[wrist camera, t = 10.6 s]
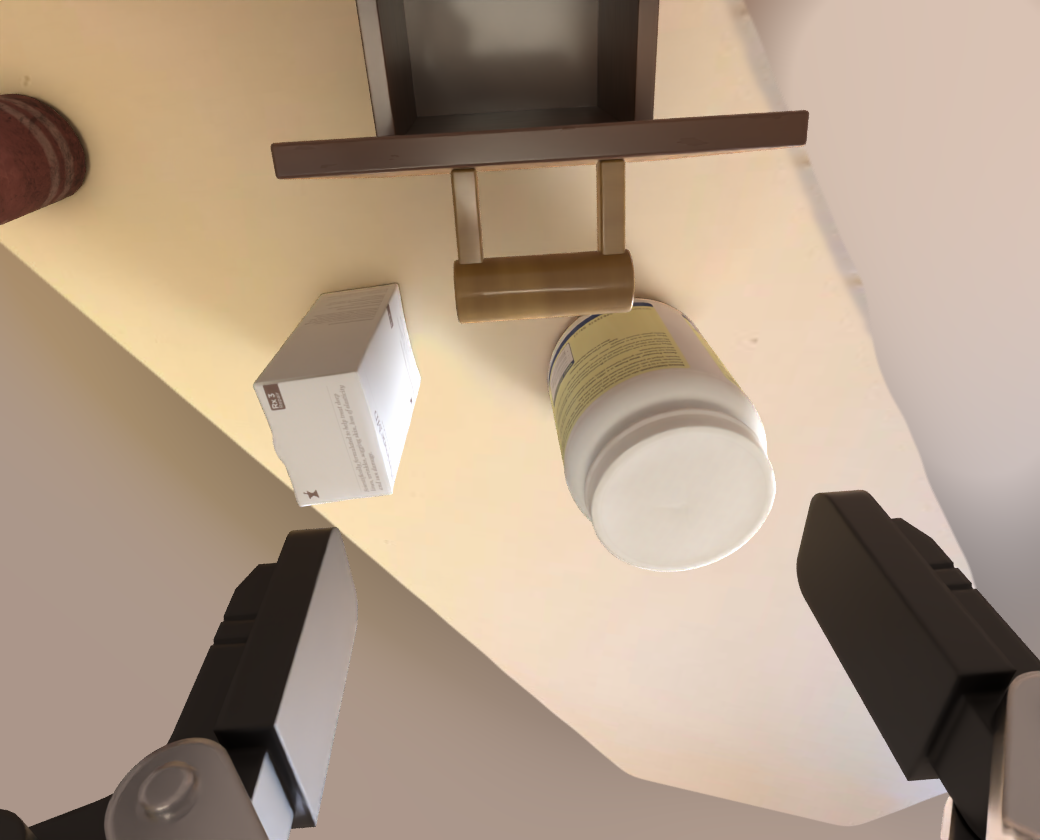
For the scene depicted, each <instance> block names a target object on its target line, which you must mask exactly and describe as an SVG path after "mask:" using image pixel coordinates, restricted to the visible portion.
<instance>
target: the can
mask: <svg viewBox="0 0 1040 840" xmlns="http://www.w3.org/2000/svg"><path fill="white" fill-rule="evenodd" d="M85 172H86V166H85V154H84V152H83V149H82V147H81V144H80V141H79V139H78V137H77V135H76V134H75V133H74V131H73V130H72V128H71V127H70V126H69V124H68V123H67V121H65V120H64V119H63V118H62V117H61V116H60V115H59V114H58V113H57V112H55V111H54V110H53V109H52V108H51V107H49V106H47V105H45V104H43V103H42V102H40V101H38V100H36V99H34V98H31V97H27V96H23V95H19V94H5V95H0V225H2V224H5V223H7V222H9V221H12V220H14V219H17V218H19V217H21V216H24V215H26V214H29V213H31V212H33V211H36V210H38V209H41V208H43V207H45V206H48V205H50V204H53V203H55V202H58V201H60V200H62V199H64V198H66V197H69V196H71V195H73V194H74V193H75V192H76V191H77V189H78V188H79V187H80V186H81V185H82V182H83V179H84V175H85Z"/></svg>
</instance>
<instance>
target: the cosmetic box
mask: <svg viewBox="0 0 1040 840" xmlns="http://www.w3.org/2000/svg"><path fill="white" fill-rule="evenodd" d="M420 380H421V378H420V375H419V371H418V369H417V366H416V363H415V359H414V355H413V352H412V348H411V344H410V340H409V336H408V332H407V327H406V323H405V318H404V313H403V308H402V303H401V296H400V291H399V286H398V284H389V285H382V286H375V287H368V288H361V289H354V290H346V291H339V292H332V293H325V294H321V295H320V296H319V298H318V299H317V300H316V302H315V303H314V304H313V306H312V307H311V308H310V310H309V311H308V312H307V314H306V315H305V316H304V317H303V319H302V320H301V322H300V323H299V324H298V326H297V327H296V328H295V330H294V331H293V332H292V334H291V335H290V336H289V337H288V339H287V340H286V341H285V343H284V344H283V345H282V347H281V348H280V350H279V351H278V352H277V354H276V355H275V356H274V357H273V359H272V360H271V361H270V363H269V364H268V365H267V367H266V368H265V369H264V371H263V372H262V373H261V375H260V376H259V377H258V378H257V380H256V381H255V382H254V384H253V387H254V390H255V392H256V394H257V397H258V399H259V402H260V404H261V406H262V409H263V411H264V414H265V416H266V419H267V421H268V424H269V426H270V429H271V431H272V435H273V445H274V449H275V451H276V454H277V456H278V457H279V459H280V460H281V461H282V462H283V463H284V465H285V467H286V469H287V472H288V475H289V477H290V480H291V483H292V486H293V489H294V493H295V497H296V500H297V503H298V505H299V506H301V507H303V506H309V505H314V504H323V503H329V502H336V501H343V500H349V499H356V498H365V497H375V496H383V495H390V494H392V492H393V491H392V490H393V486H394V482H395V478H396V474H397V470H398V466H399V462H400V458H401V454H402V451H403V447H404V443H405V439H406V436H407V432H408V428H409V425H410V421H411V417H412V413H413V409H414V405H415V401H416V397H417V394H418V390H419V386H420Z"/></svg>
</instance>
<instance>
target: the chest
mask: <svg viewBox="0 0 1040 840" xmlns="http://www.w3.org/2000/svg"><path fill="white" fill-rule="evenodd" d="M356 7H357V13H358V20H359V26H360V33H361V39H362V46H363V52H364V59H365V65H366V71H367V78H368V84H369V91H370V97H371V104H372V110H373V117H374V123H375V130H376V136H377V137H379V136H395V135H411V134H428V133H444V132H460V131H476V130H492V129H509V128H525V127H541V126H557V125H573V124H589V123H606V122H622V121H638V120H653V110H654V91H655V73H656V54H657V35H658V16H659V0H356Z"/></svg>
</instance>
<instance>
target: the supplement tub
mask: <svg viewBox="0 0 1040 840" xmlns="http://www.w3.org/2000/svg"><path fill="white" fill-rule="evenodd" d="M547 383H548V392H549V396H550V399H551V404H552V409H553V414H554V419H555V425H556V430H557V435H558V440H559V445H560V450H561V455H562V460H563V465H564V473H565V478H566V483H567V486H568V489H569V491H570V493H571V496H572V498H573V500H574V501H575V503H576V505H577V506H578V508H579V509H580V510H581V512H582V513H583V514H584V515H585V516H586V517H587V518H588V519H589V520H590V521H591V522H592V524H593V527H594V530H595V533H596V535H597V537H598V539H599V540H600V542H601V543H602V544H603V546H604V547H605V548H606V549H607V550H608V551H609V552H610V553H611V554H613V555H614V556H615V557H617V558H618V559H620V560H621V561H623V562H625V563H627V564H629V565H632V566H635V567H638V568H642V569H646V570H652V571H661V572H672V571H684V570H689V569H694V568H698V567H701V566H705V565H708V564H710V563H713V562H715V561H718V560H720V559H722V558H724V557H726V556H728V555H729V554H731V553H732V552H734V551H735V550H737V549H739V548H740V547H741V546H742V545H744V544H745V543H746V542H747V541H748V540H749V539H750V538H752V536H753V535H754V534H755V533H756V532H757V531H758V530H759V529H760V527H761V526H762V524H763V523H764V521H765V520H766V518H767V516H768V514H769V512H770V510H771V507H772V504H773V501H774V497H775V490H776V482H775V475H774V471H773V468H772V465H771V463H770V461H769V459H768V457H767V453H766V436H765V431H764V427H763V424H762V421H761V419H760V417H759V414H758V412H757V410H756V408H755V406H754V405H753V403H752V402H751V400H750V399H749V398H748V397H747V395H746V394H745V393H744V392H743V391H742V389H741V388H740V386H739V385H738V384H737V382H736V381H735V380H734V378H733V377H732V375H731V374H730V373H729V371H728V370H727V369H726V367H725V366H724V364H723V363H722V362H721V360H720V359H719V358H718V356H717V355H716V354H715V352H714V351H713V349H712V348H711V347H710V345H709V344H708V343H707V341H706V340H705V339H704V337H703V336H702V335H701V333H700V332H699V330H698V328H697V327H696V326H695V324H694V323H693V322H692V321H691V320H690V319H689V318H688V317H687V316H685V315H684V314H683V313H681V312H680V311H678V310H677V309H675V308H673V307H671V306H669V305H667V304H664V303H661V302H658V301H654V300H650V299H641V298H634V301H633V306H632V309H631V311H630V312H625V313H610V314H595V315H582V316H580V317H579V318H578V319H577V320H576V321H574V322H573V323H572V324H571V325H570V326H569V328H568V329H567V330H566V331H565V332H564V334H563V335H562V337H561V338H560V340H559V341H558V343H557V345H556V347H555V349H554V351H553V354H552V357H551V360H550V364H549V369H548V377H547Z"/></svg>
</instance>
